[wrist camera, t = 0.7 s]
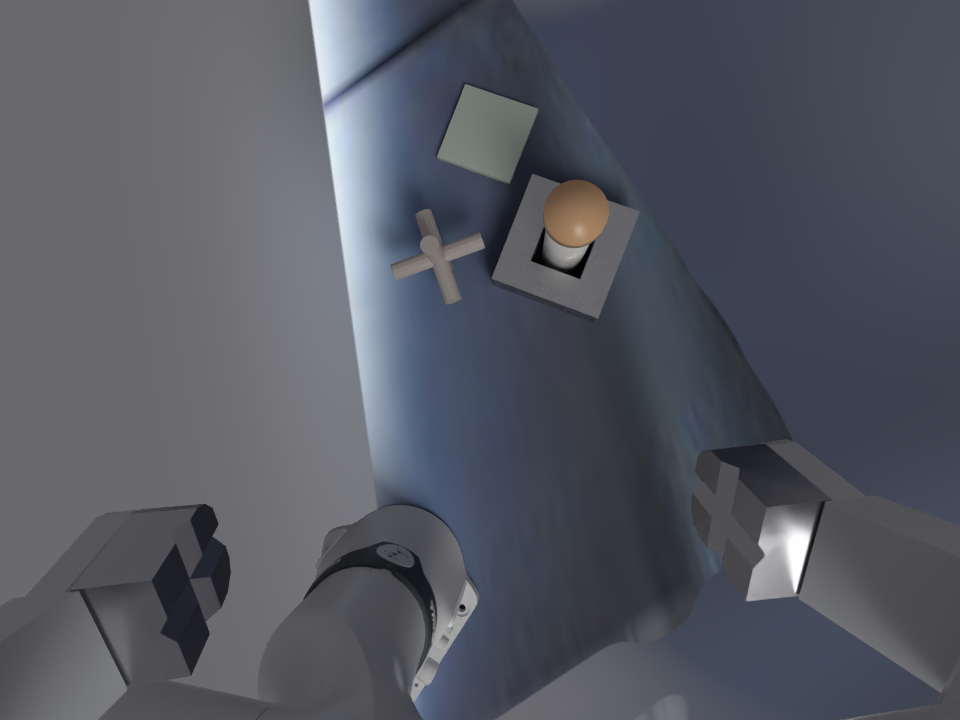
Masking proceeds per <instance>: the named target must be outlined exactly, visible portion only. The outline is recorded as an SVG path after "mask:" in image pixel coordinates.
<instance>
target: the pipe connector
mask: <svg viewBox="0 0 960 720" xmlns="http://www.w3.org/2000/svg"><path fill="white" fill-rule="evenodd" d="M415 217H416V220H417V223H418V226H419V229H420V232H421V234H422V237H423V239H422V240H421V243H420V247H421V250H422V251H423V253H421V254H418V255H415V256H413V257H410V258H407V259H404V260H402V261H399V262H396V263H394V264H391V270H392V272H393V275H394V277H395V279H396V280H399V279H402V278H405V277H408V276H410V275H413V274H416V273H418V272H421V271H424V270H427V269H429V268H432V267H433V269H434V272H435V275H436V278H437V281H438V284H439V287H440V290H441V293H442V296H443V299H444V301H445V304H451V303H455V302H457V301H459V300H461V299H462V298H461V295H460V292H459V289H458V286H457V284H456V281H455V278H454V275H453V272H452V270H453V264H452V262H451V260H454V259H457V258H459V257H462V256H465V255H468V254H470V253H473V252H476V251H479V250H481V249H484V248H485V246H484V243H483V240H482V237H481V234H480V232H478V233H475V234H472V235H470V236H467V237H464V238H461V239H459V240H456V241H453V242H451V243H448V244H445V245H443V243H442V240H441V237H440V234H439V231H438V229H437V226H436V223H435V220H434V217H433V214H432V211H431V210H430V209H425V210H421V211H419V212H417V213H416V214H415Z"/></svg>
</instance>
